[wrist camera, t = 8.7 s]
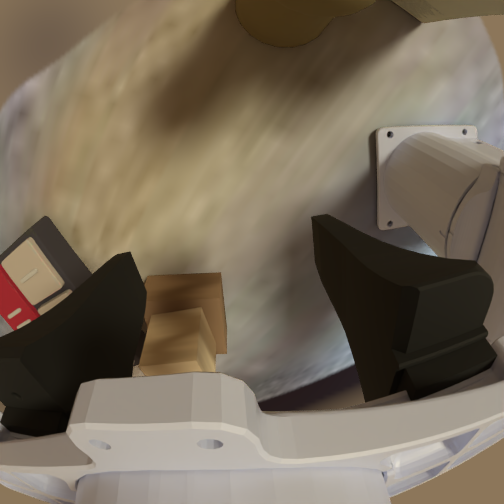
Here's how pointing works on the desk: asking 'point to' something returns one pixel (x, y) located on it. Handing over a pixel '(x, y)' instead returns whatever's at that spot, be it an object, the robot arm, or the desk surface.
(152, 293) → the walnut base
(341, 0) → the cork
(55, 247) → the calculator
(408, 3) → the box
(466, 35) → the desk surface
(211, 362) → the beech block
